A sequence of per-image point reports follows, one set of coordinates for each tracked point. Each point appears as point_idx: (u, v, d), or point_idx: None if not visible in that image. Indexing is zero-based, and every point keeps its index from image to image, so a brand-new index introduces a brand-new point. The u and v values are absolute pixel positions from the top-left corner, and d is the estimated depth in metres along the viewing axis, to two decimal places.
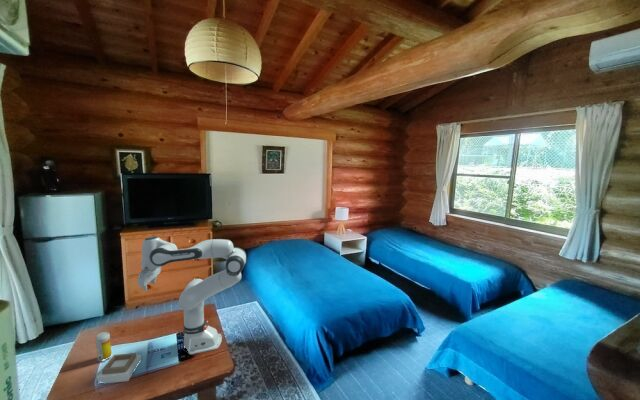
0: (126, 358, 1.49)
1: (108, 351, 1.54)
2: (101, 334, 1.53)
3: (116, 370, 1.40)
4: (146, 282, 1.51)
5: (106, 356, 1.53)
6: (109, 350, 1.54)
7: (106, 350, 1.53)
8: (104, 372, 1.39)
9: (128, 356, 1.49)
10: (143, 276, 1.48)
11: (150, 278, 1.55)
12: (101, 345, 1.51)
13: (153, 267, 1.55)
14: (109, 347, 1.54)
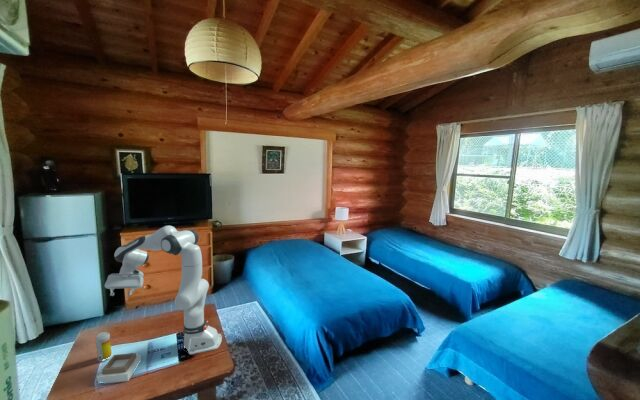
0: (126, 358, 1.49)
1: (108, 351, 1.54)
2: (101, 334, 1.53)
3: (116, 370, 1.40)
4: (108, 284, 1.67)
5: (106, 356, 1.53)
6: (109, 350, 1.54)
7: (106, 350, 1.53)
8: (104, 372, 1.39)
9: (128, 356, 1.49)
10: None
11: (117, 283, 1.68)
12: (101, 345, 1.51)
13: (120, 272, 1.71)
14: (109, 347, 1.54)
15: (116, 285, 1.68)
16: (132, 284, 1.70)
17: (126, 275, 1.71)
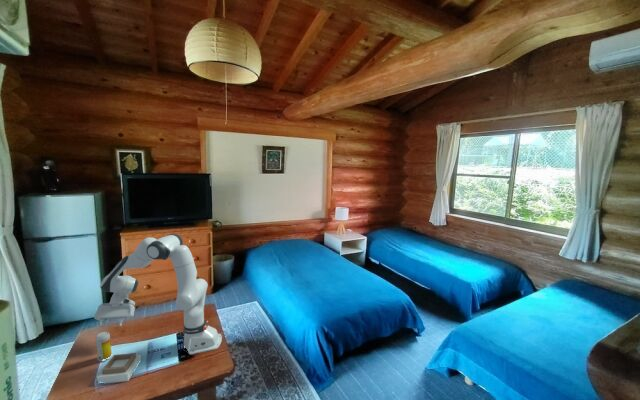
0: (126, 358, 1.49)
1: (108, 351, 1.54)
2: (101, 334, 1.53)
3: (116, 370, 1.40)
4: (98, 315, 1.61)
5: (106, 356, 1.53)
6: (109, 350, 1.54)
7: (106, 350, 1.53)
8: (104, 372, 1.39)
9: (128, 356, 1.49)
10: None
11: (107, 314, 1.62)
12: (101, 345, 1.51)
13: (110, 302, 1.65)
14: (109, 347, 1.54)
15: (106, 316, 1.62)
16: (122, 314, 1.63)
17: (116, 305, 1.65)
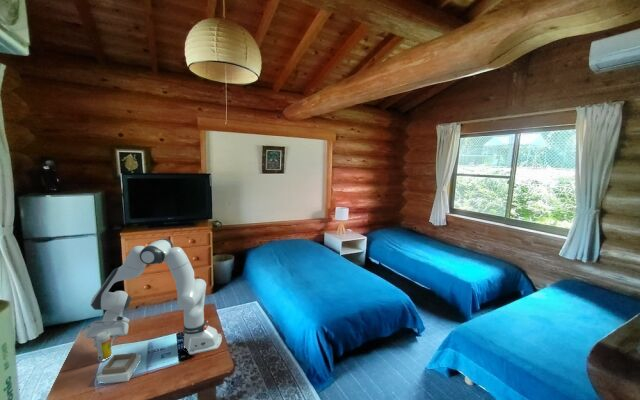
0: (126, 358, 1.49)
1: (108, 351, 1.54)
2: (101, 334, 1.53)
3: (116, 370, 1.40)
4: (90, 334, 1.54)
5: (106, 356, 1.53)
6: (109, 350, 1.54)
7: (106, 350, 1.53)
8: (104, 372, 1.39)
9: (128, 356, 1.49)
10: None
11: (99, 332, 1.55)
12: (101, 345, 1.51)
13: (102, 320, 1.58)
14: (109, 347, 1.54)
15: None
16: (115, 332, 1.56)
17: (109, 322, 1.58)
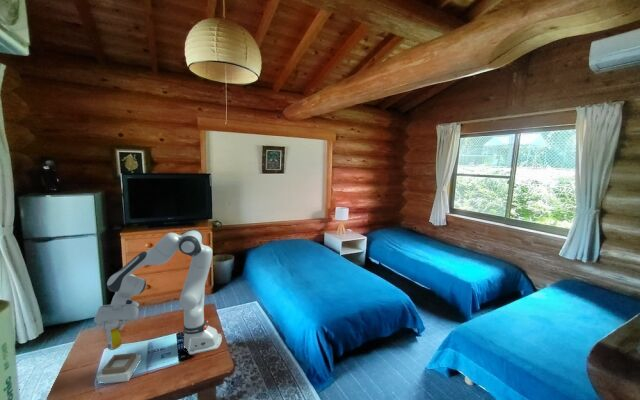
0: (126, 358, 1.49)
1: (118, 339, 1.45)
2: (110, 321, 1.45)
3: (116, 370, 1.40)
4: (98, 318, 1.46)
5: (115, 344, 1.44)
6: (119, 338, 1.46)
7: (116, 337, 1.44)
8: (104, 372, 1.39)
9: (128, 356, 1.49)
10: None
11: (108, 317, 1.47)
12: (110, 331, 1.42)
13: (111, 303, 1.49)
14: (119, 335, 1.46)
15: (107, 319, 1.46)
16: (125, 317, 1.48)
17: (118, 306, 1.49)
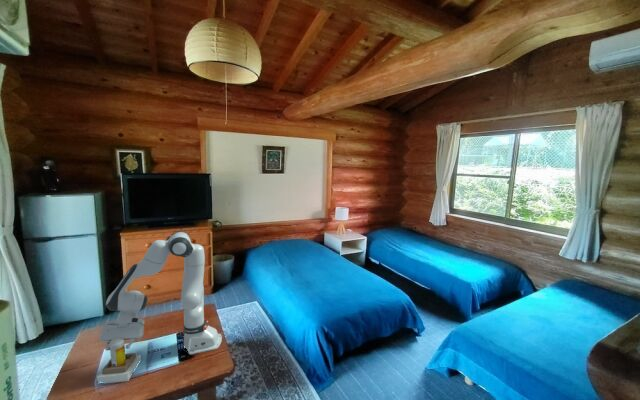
0: (126, 358, 1.49)
1: (122, 358, 1.43)
2: (115, 340, 1.43)
3: (116, 370, 1.40)
4: (104, 337, 1.44)
5: (120, 363, 1.42)
6: (123, 357, 1.44)
7: (121, 357, 1.42)
8: (104, 372, 1.39)
9: (128, 356, 1.49)
10: None
11: (113, 335, 1.45)
12: (115, 351, 1.40)
13: (116, 321, 1.48)
14: (123, 354, 1.44)
15: (112, 337, 1.44)
16: (130, 335, 1.46)
17: (124, 324, 1.47)
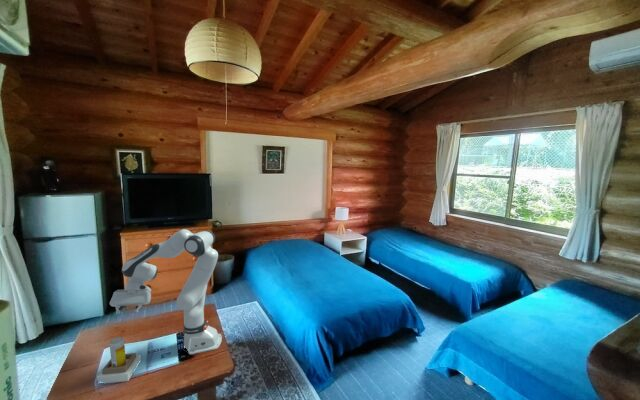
0: (126, 358, 1.49)
1: (122, 358, 1.43)
2: (115, 340, 1.43)
3: (116, 370, 1.40)
4: (114, 302, 1.55)
5: (120, 363, 1.42)
6: (123, 357, 1.44)
7: (121, 357, 1.42)
8: (104, 372, 1.39)
9: (128, 356, 1.49)
10: None
11: (123, 300, 1.56)
12: (115, 351, 1.40)
13: (125, 288, 1.59)
14: (123, 354, 1.44)
15: (122, 302, 1.55)
16: (139, 300, 1.57)
17: (132, 291, 1.59)
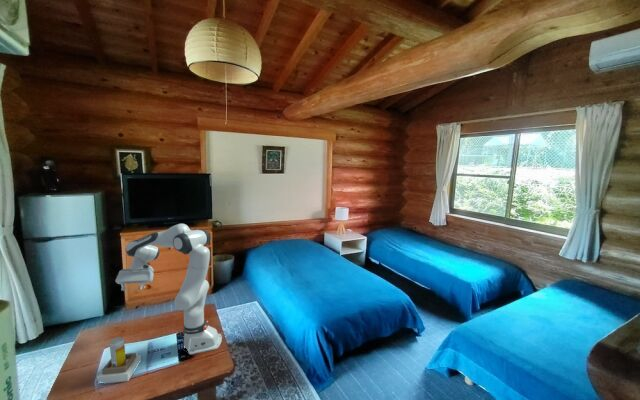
0: (126, 358, 1.49)
1: (122, 358, 1.43)
2: (115, 340, 1.43)
3: (116, 370, 1.40)
4: (119, 279, 1.67)
5: (120, 363, 1.42)
6: (123, 357, 1.44)
7: (121, 357, 1.42)
8: (104, 372, 1.39)
9: (128, 356, 1.49)
10: None
11: (127, 278, 1.68)
12: (115, 351, 1.40)
13: (130, 267, 1.71)
14: (123, 354, 1.44)
15: (127, 280, 1.68)
16: (142, 279, 1.69)
17: (136, 270, 1.71)
